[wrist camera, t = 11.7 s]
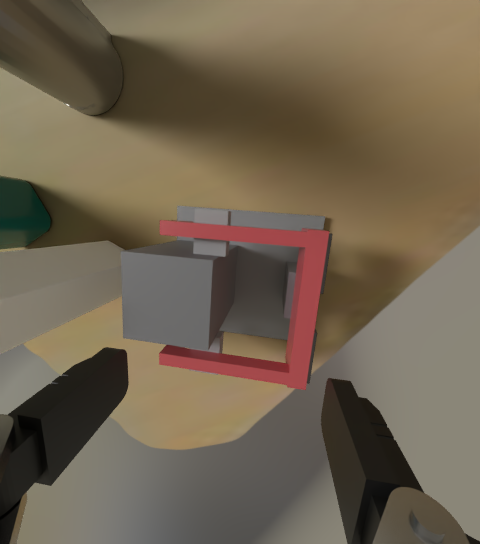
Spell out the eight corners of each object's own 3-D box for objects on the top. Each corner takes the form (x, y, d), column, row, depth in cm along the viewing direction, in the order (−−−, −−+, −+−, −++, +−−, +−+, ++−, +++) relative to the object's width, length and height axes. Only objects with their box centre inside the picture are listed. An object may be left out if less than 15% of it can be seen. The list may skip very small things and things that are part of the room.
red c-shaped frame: (322, 229, 23) (334, 231, 18) (303, 359, 26) (310, 390, 21) (182, 218, 25) (159, 217, 20) (179, 341, 28) (159, 366, 23)
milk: (143, 259, 36) (-56, 316, 14) (128, 293, 37) (-71, 391, 16) (107, 239, 36) (-142, 265, 14) (94, 274, 37) (-150, 345, 16)
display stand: (323, 216, 31) (360, 212, 17) (305, 339, 34) (324, 416, 21) (180, 206, 33) (113, 195, 19) (177, 321, 37) (119, 380, 23)
